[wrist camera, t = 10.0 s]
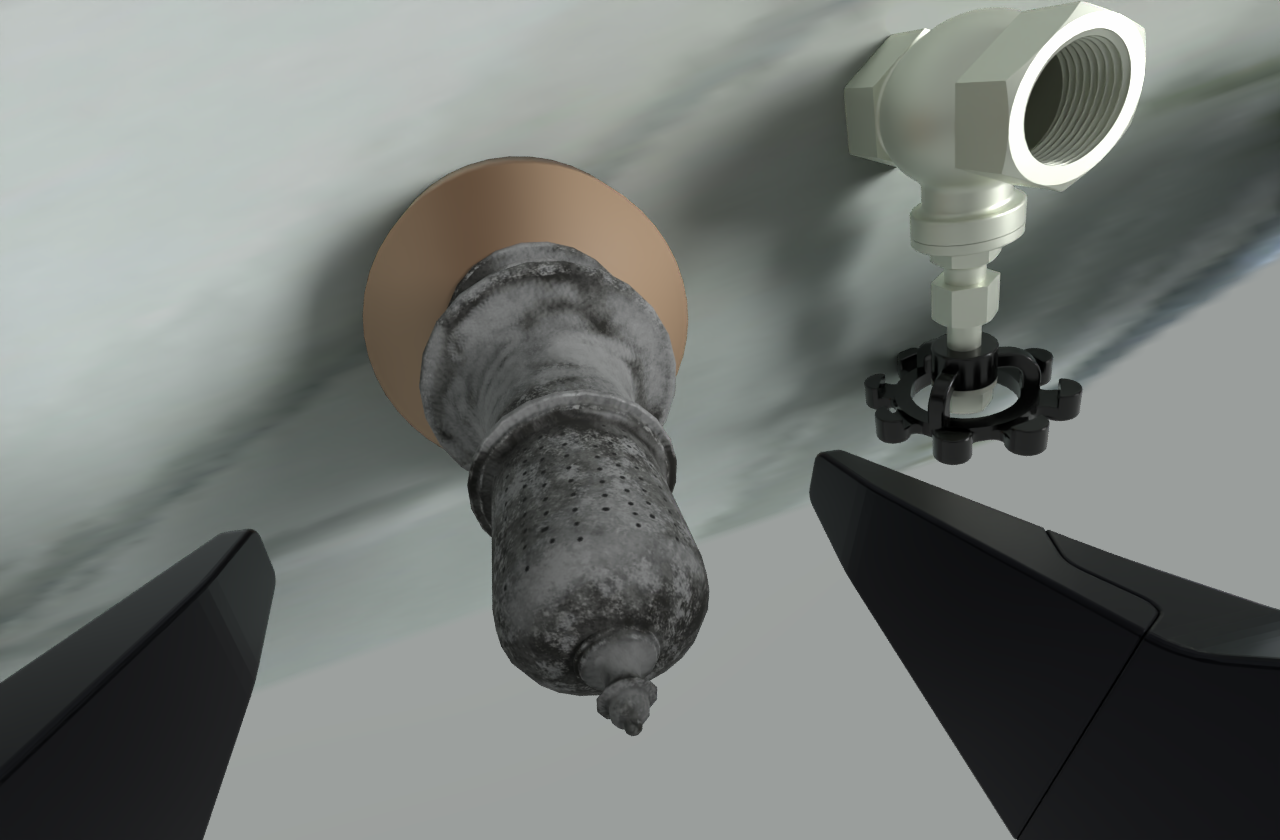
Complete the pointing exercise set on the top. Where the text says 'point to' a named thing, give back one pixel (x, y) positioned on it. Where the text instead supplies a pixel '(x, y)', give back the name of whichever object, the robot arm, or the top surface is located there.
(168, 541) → the top surface
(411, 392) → the tan round disc
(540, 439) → the salt shaker
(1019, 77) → the valve
